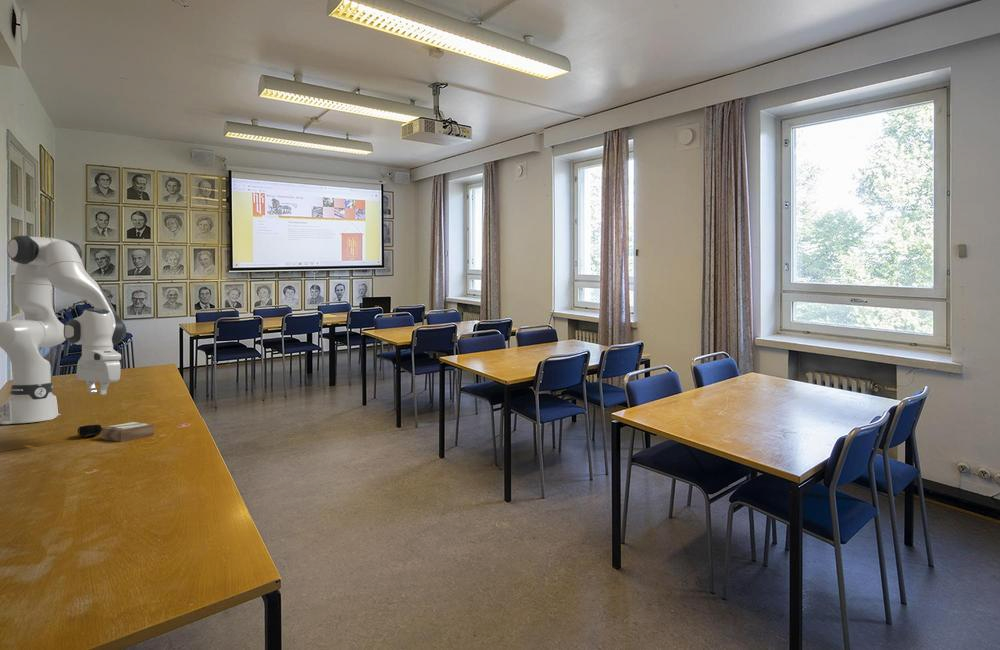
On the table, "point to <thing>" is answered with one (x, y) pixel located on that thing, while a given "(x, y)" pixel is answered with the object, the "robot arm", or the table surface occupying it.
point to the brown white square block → (127, 431)
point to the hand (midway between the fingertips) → (97, 393)
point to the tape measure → (89, 430)
